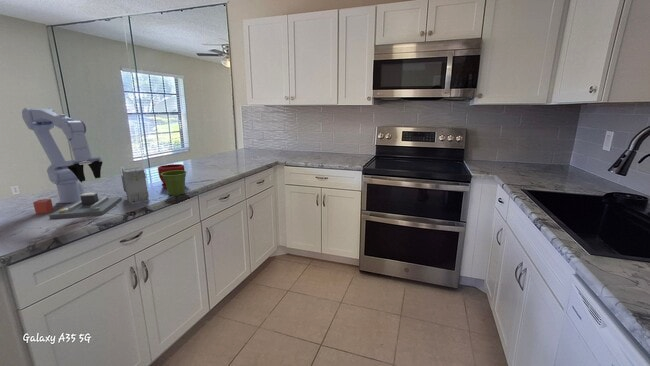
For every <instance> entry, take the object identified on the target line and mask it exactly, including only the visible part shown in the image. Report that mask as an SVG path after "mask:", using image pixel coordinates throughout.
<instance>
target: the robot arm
mask: <svg viewBox="0 0 650 366" xmlns="http://www.w3.org/2000/svg"><path fill="white" fill-rule="evenodd" d="M21 116H22V117H21V118H22V119H23V122H24V123H25V125H26V127H27V128H28V130H31V131H33V132H34V134H35V136H36V138H37V139H38V142H39V143H40V145H41V147H42V149H43V151H44V153H45V154H46V156H47V158H48V160H49V162H50V165H49V166H48V167H47V169H46V172H47V175H48V180H49V181H50V182H51V183H52V184H54V185H55V186H56V190H57V194H58V197H59V200H58V201H56V202H55V204H70V203H72V202H74V201H76V200H81V197H80V195H81V194H83V193H84V192H83V186H82V184H81V182H86V177H85V171H84V167H85V166H84V164H87V166H88V167H89V169H90V170H91V172H92V174H93V177H94V179H100V178H102V177H101V175H102V174H101V173H102V172H101V170H102V165H103V160H102V158H101V156H97V157H93V156H92V153H91V149H90V146H89V144H88V140H87V136H86V133H87V126H86V123H85V122H84V121H83V120H81V119H79V120H74V119H73V118H71V117H69V116H66V114H65V113H64V114H63V113H62V114H61V113H60V114H57V113H56V111H55V109H52V108H51V107H47V108H34V107H33V108H32V107H31V108H30V107H29V108H28V107H24V108H23V109H22V111H21ZM54 127H57V128H58V129H61V130H62V132H63V133H64V135H65V137H66V139H67V140H68V141H69V145H70V147H71V151H72V154H73V156H74V159H73V160H66V159H65V157H64V156H63V154H62V152H61V150H60V149H59V146H58V145H57V142H56V141H55V139H54V137H53V135H52V133H51V132H50V130H52V129H54Z"/></svg>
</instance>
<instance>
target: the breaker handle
mask: <svg viewBox="0 0 650 366" xmlns="http://www.w3.org/2000/svg"><path fill="white" fill-rule="evenodd" d="M80 197H81V201H82V205H90V204H95V203H96V202H98V201H99V200H98V199H99V195H98V192H87V193H86V192H85V193H84V192H83V194H81V195H80Z"/></svg>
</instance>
